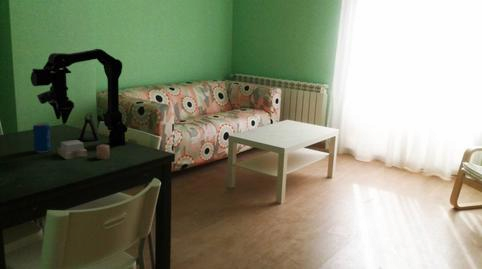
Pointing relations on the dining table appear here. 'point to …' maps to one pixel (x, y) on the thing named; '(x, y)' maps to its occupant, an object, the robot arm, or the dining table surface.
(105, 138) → the dining table surface
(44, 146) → the beverage can
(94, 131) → the phone stand
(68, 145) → the tower top
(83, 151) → the tower base
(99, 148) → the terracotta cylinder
